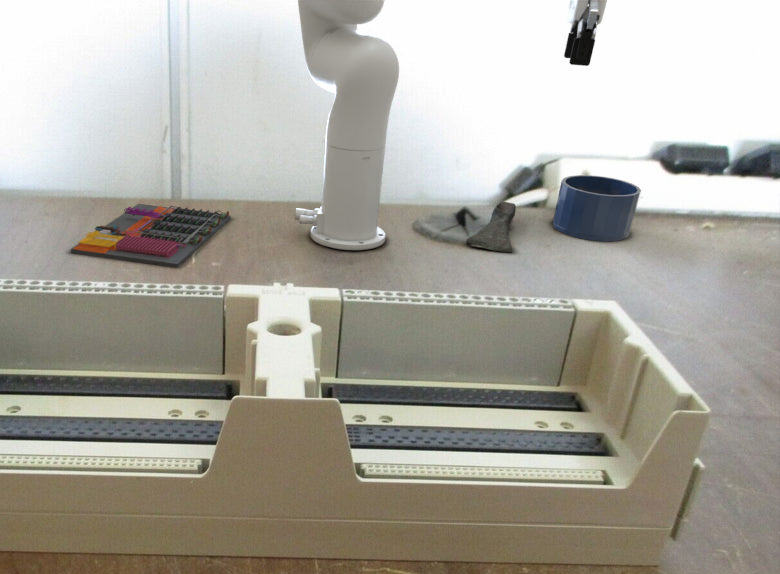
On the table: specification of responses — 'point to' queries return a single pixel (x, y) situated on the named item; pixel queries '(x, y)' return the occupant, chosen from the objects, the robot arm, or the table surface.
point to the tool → (495, 230)
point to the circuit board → (153, 235)
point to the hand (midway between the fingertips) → (575, 61)
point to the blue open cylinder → (596, 207)
